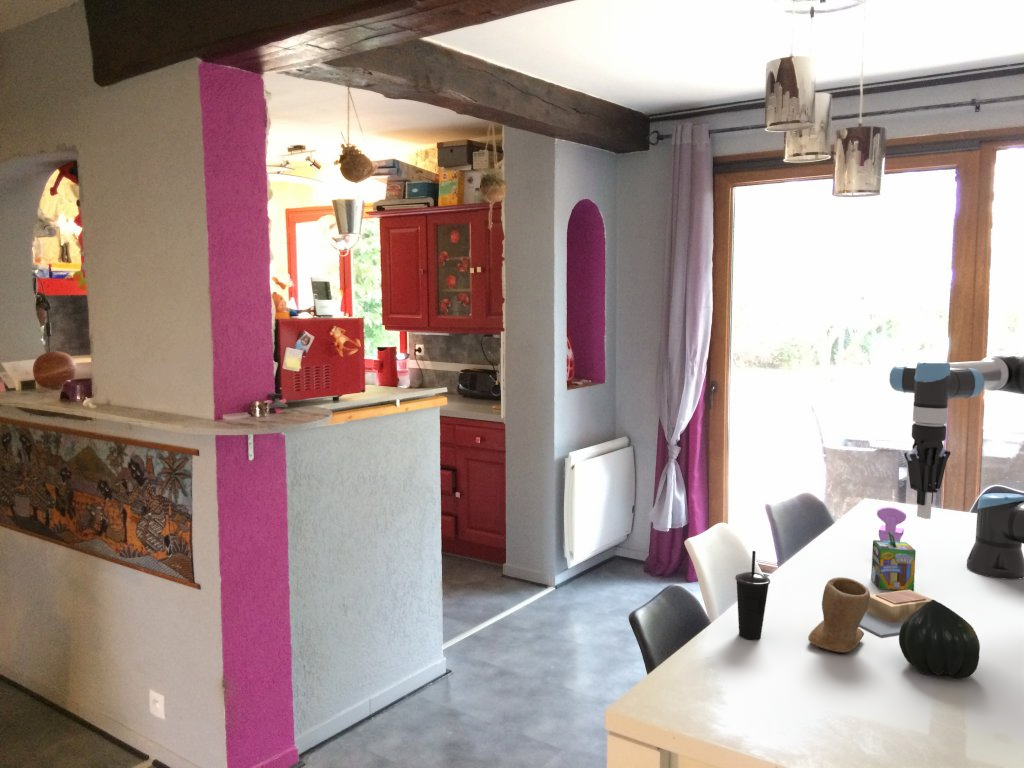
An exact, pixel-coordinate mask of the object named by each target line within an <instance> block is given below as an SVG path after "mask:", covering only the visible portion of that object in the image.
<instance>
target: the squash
mask: <svg viewBox="0 0 1024 768" xmlns="http://www.w3.org/2000/svg"><path fill="white" fill-rule="evenodd" d="M898 644H899V647H900V650H901V653H902V655H903V657H904V659H906V661H907V662H908V663H909V665H912V667H914V668H915V669H916V670H917V671H919V672H920V673H921V674H926V675H930V674H933V673H934V674H935V675H937V676H938V675H942V674H944V673H945V674H946V675H950V676H951V677H953V678H957V679H966V678H968V677H971V676H972V675H973V674H974V673H975V672H976V670H977V669H978V665H979V661H980V650H981V642H980V640H979V637H978V635H977V633H976V631H975V629H974V627H973V626H972V625H971V624H970V623H969V622H968V621H967V620H966V619H965V618H963V617H962V616H960V615H959V614H958V613H956V612H955V611H954V610H952V609H951V608H949V607H947V606H946V605H944V604H943V603H941V602H939V601H937V600H935V599H933V600H931V601H929V602H927V603H926V604H924V605H923V606H922V607H921V608H920V609H918V610H917V611H916V612H914V613H913V614H912V615H911V616H909V617H908V618H907V619H906V620H905V621H904V623H903V625H902V626H901V629H900V633H899V634H898Z"/></svg>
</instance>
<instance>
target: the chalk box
mask: <svg viewBox="0 0 1024 768" xmlns="http://www.w3.org/2000/svg"><path fill="white" fill-rule="evenodd" d="M888 534H889V538H890V541H880V539H879V540H876V539H873V541H872V553H871V554H872V556H871V575H870V580H872V582H873V584H875V586H876V587H877V589H878V588H879V590H892V591H902V590H911V591H914V592H915V573H916V549H915V548H913V547H912V546H911V545H910V544H909V543H908V542H905V541H900V542H896V541H895V540H894V536H893V534H892V533H891V532H890V531H888ZM891 537H892V538H891ZM892 539H893V541H892Z"/></svg>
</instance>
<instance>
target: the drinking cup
mask: <svg viewBox="0 0 1024 768" xmlns="http://www.w3.org/2000/svg"><path fill="white" fill-rule="evenodd" d="M751 553H752V555H751V556H752V557H751V571H745V572H741V573H738V574H736V575H735V577H734V579H735V581H736V594H737V596H736V597H737V598H736V599H737V616H738V618H737V620H738V635H739V637H741V638H742V639H744V640H749V641H758V640H760V639H761V637H762V632H763V624H764V617H765V612H766V611H765V610H766V604H767V598H768V597H767V596H768V590H769V585H770V584H771V579H770V578H769V577H768V576H765V575H763V573H759V572H756V570H755V569H756V551H755V550H752V552H751Z"/></svg>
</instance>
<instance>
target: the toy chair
mask: <svg viewBox="0 0 1024 768" xmlns="http://www.w3.org/2000/svg"><path fill="white" fill-rule="evenodd" d="M876 516H877V517H878V518H879V519H880V520H881V521H882V522H884V524H885V525H883V524H882V525H881V526H880V528H879V529H878V537H879V540H880V541H890V538H889V534H888V531H890V532H891V533H892V534H893V536H894V540H895V541H896V542H901V538H902V537H903V535H904V530H905V529H904V528H902V527H897V525H901V524H902V523H904V521H906V520H907V519H906V518H907V514H906V513H905V512H904V511H903V510H901V509H898V508H896V507H891V506H885V507H881V508H879V509H878V510H877V511H876ZM891 538H892V537H891ZM892 541H893V539H892Z"/></svg>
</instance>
